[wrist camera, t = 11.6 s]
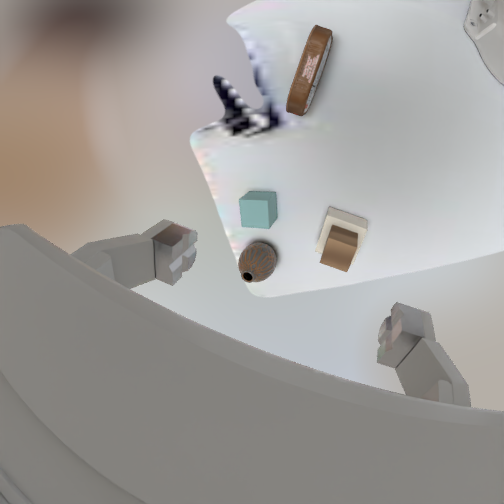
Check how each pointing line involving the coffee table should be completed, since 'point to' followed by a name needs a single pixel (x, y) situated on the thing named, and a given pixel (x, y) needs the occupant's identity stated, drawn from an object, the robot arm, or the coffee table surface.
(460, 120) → the coffee table surface
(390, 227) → the coffee table surface
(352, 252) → the walnut block
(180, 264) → the robot arm
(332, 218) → the limestone block
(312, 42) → the tin
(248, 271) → the vase
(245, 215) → the teal cube
